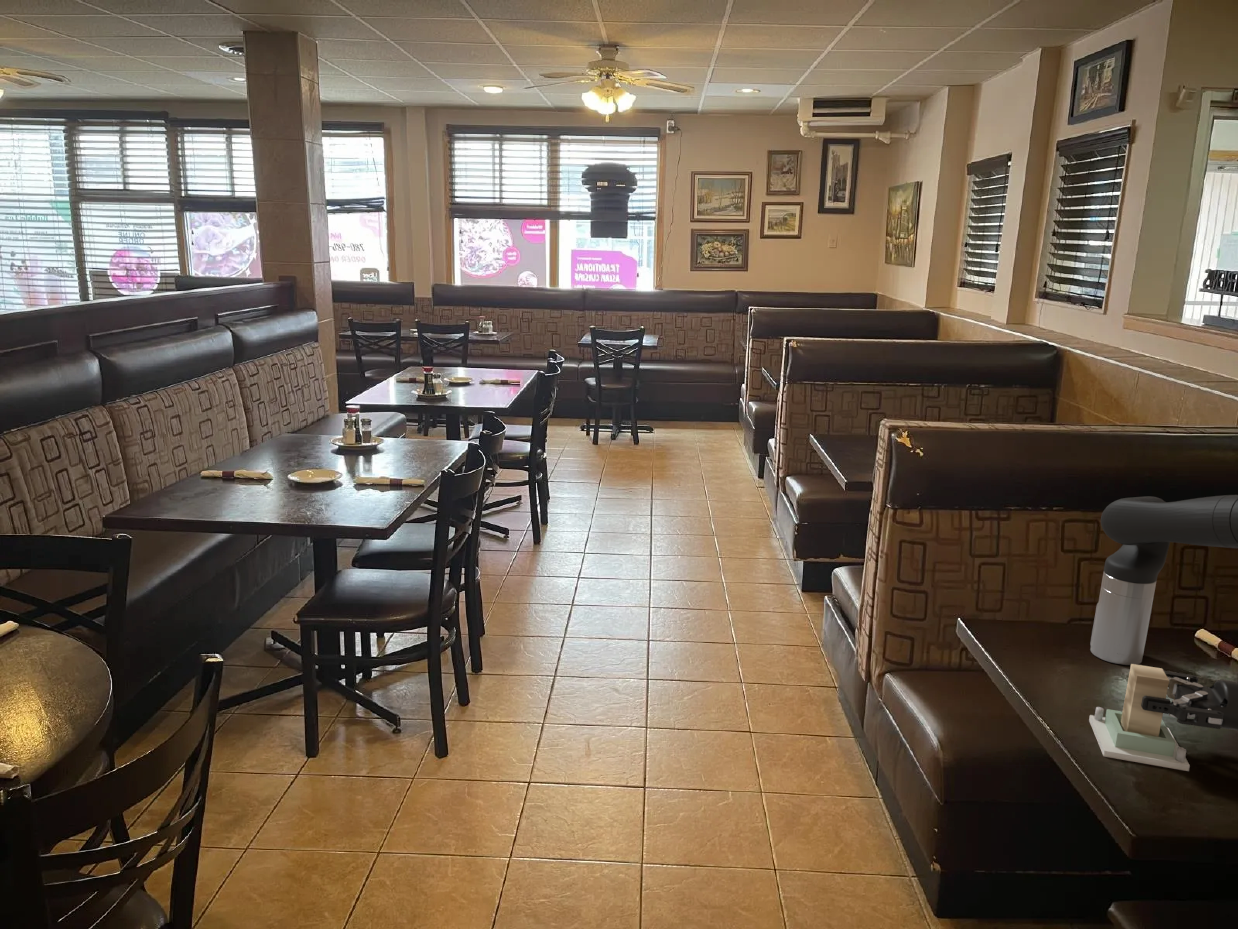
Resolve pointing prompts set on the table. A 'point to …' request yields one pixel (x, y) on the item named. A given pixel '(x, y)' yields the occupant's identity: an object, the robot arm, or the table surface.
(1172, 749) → the socket plate
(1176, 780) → the table surface
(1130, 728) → the maple block
